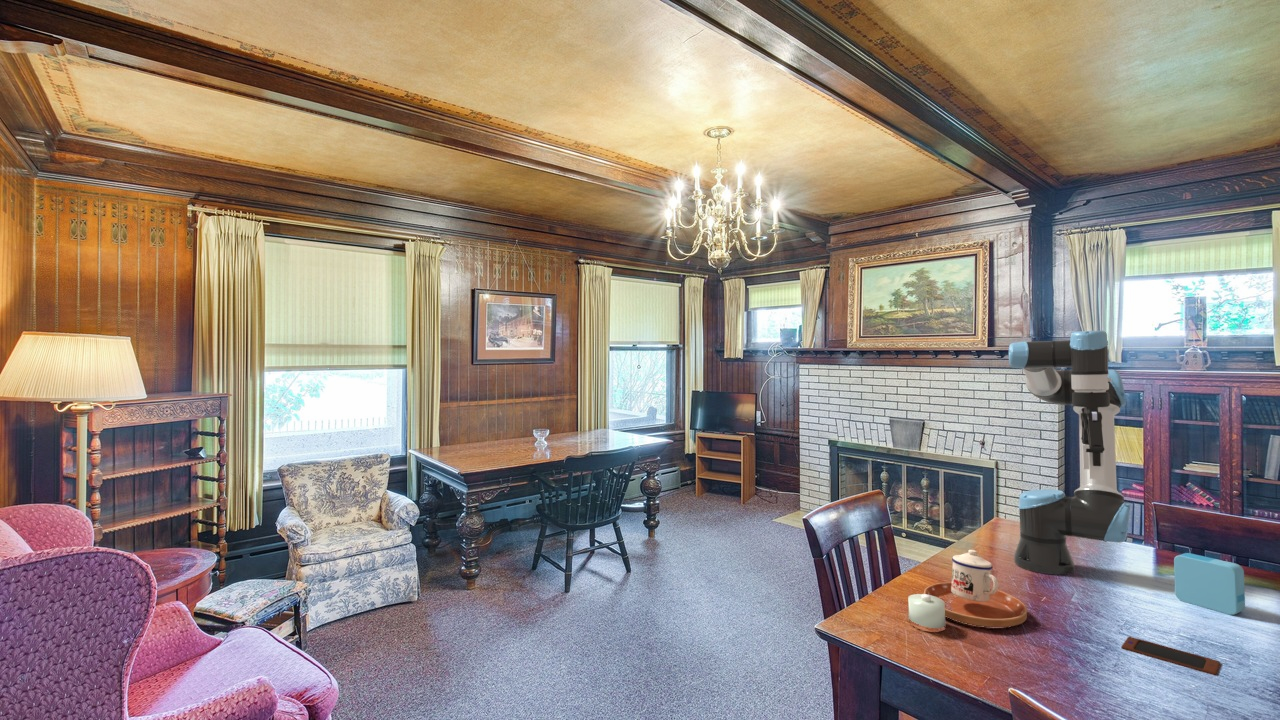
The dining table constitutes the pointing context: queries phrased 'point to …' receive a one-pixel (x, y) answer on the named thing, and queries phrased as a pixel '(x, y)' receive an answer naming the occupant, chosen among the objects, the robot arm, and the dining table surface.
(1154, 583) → the dining table surface
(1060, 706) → the dining table surface
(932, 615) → the sugar bowl
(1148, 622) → the dining table surface
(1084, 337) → the robot arm
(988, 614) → the saucer
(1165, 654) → the smartphone
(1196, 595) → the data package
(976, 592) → the teacup with lid
